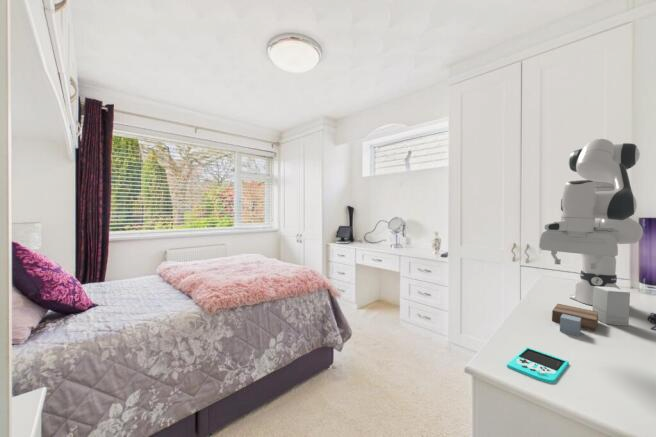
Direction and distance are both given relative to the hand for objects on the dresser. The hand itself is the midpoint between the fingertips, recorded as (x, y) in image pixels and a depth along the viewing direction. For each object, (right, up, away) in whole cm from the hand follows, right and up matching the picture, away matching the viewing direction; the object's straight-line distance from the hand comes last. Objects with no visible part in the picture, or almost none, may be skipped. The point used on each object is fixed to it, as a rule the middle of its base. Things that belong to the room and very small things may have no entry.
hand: (575, 266), depth 96 cm
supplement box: (+23, -23, +10) cm, 34 cm away
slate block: (-1, -23, +1) cm, 23 cm away
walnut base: (+8, -23, +9) cm, 26 cm away
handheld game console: (-29, -24, -21) cm, 43 cm away
